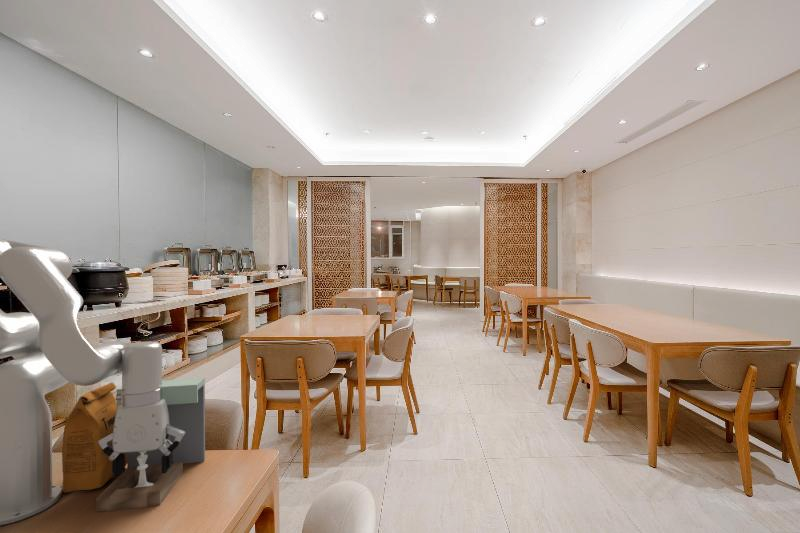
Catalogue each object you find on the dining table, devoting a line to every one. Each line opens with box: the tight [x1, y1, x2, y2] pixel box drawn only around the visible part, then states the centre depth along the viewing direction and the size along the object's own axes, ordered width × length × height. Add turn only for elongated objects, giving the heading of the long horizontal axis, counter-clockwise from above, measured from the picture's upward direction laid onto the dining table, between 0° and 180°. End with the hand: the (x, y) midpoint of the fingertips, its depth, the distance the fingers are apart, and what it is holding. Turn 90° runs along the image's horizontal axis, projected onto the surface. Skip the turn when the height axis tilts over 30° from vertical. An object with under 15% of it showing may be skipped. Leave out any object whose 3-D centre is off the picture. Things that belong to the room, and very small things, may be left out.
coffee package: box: [61, 381, 127, 494], centre depth 88 cm, size 10×12×22 cm
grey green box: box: [116, 377, 206, 469], centre depth 93 cm, size 18×6×22 cm, turn 100°
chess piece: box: [135, 451, 155, 487], centre depth 83 cm, size 5×5×10 cm
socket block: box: [95, 462, 184, 513], centre depth 83 cm, size 12×12×3 cm
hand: (143, 472), depth 83 cm, fingers open, 9 cm apart
